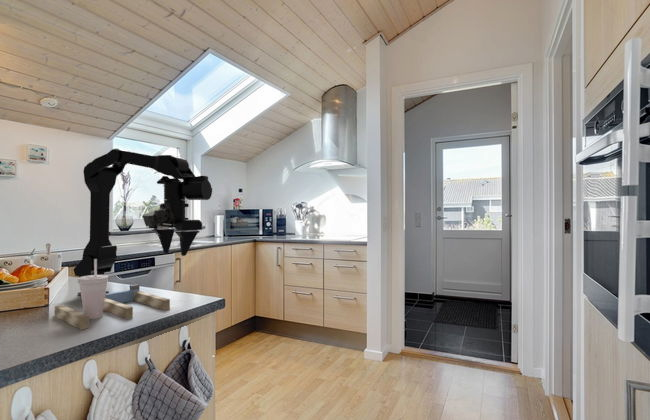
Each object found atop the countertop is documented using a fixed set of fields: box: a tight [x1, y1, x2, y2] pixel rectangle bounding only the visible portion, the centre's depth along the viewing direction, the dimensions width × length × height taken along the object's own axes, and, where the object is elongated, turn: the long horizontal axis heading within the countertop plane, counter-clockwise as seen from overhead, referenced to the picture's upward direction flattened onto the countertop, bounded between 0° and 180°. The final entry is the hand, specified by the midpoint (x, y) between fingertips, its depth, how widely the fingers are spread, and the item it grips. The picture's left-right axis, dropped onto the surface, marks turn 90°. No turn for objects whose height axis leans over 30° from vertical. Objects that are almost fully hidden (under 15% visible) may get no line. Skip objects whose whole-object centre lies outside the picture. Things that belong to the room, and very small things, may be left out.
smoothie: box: [77, 259, 109, 320], centre depth 88 cm, size 6×6×14 cm
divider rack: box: [54, 290, 171, 330], centre depth 92 cm, size 16×20×2 cm
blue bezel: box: [105, 283, 140, 304], centre depth 101 cm, size 2×11×4 cm, turn 143°
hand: (174, 254), depth 105 cm, fingers open, 9 cm apart
